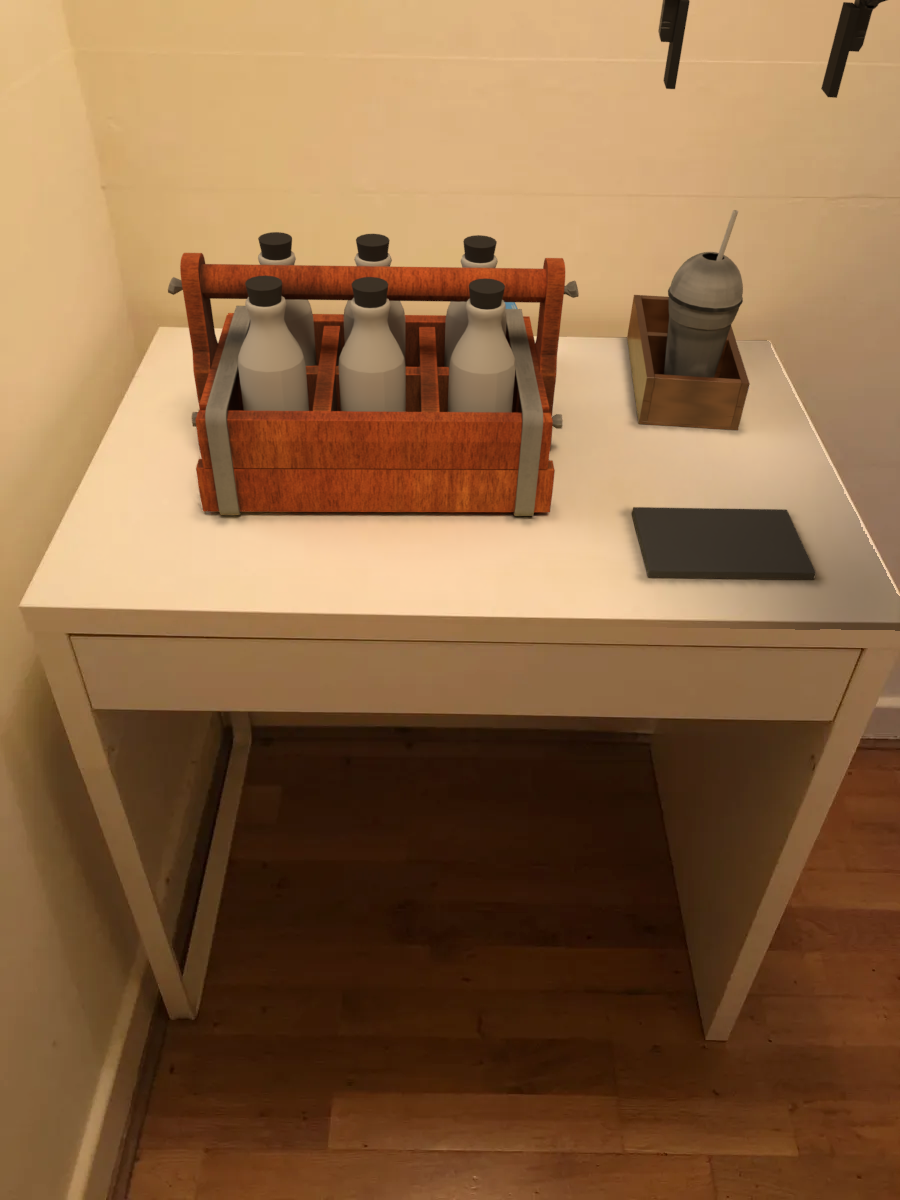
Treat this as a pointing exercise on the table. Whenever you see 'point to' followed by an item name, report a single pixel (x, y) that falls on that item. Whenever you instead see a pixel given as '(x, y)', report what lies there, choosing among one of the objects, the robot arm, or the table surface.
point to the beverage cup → (702, 311)
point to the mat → (721, 544)
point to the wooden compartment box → (681, 395)
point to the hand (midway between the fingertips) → (748, 89)
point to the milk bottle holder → (374, 383)
